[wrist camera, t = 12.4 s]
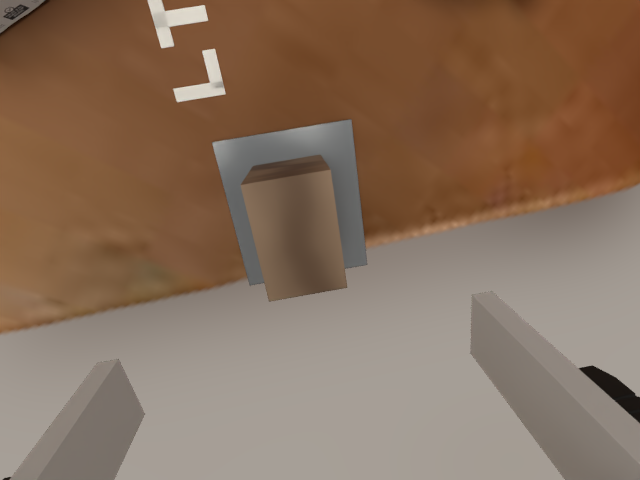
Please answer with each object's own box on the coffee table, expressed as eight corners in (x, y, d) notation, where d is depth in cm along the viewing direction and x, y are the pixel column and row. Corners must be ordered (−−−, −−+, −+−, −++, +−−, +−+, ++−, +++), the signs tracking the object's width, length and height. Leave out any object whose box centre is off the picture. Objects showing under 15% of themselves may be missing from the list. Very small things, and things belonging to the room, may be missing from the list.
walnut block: (273, 257, 33) (269, 301, 25) (253, 165, 29) (240, 184, 22) (334, 247, 33) (347, 287, 25) (320, 154, 29) (330, 169, 22)
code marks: (177, 102, 27) (177, 102, 27) (145, -7, 25) (145, -8, 25) (225, 94, 27) (225, 94, 27) (199, -16, 25) (199, -16, 25)
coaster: (250, 283, 34) (249, 285, 34) (212, 141, 29) (211, 142, 28) (366, 263, 34) (367, 264, 34) (350, 119, 29) (351, 119, 29)
